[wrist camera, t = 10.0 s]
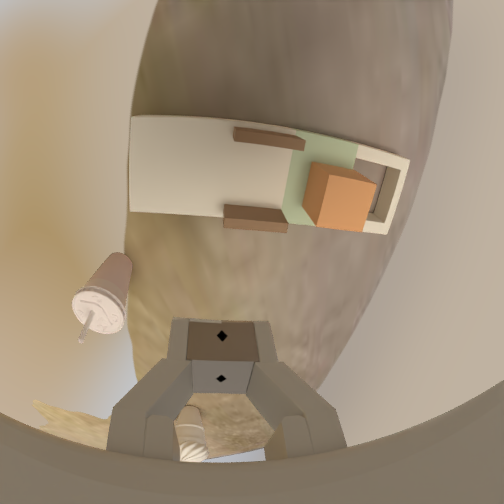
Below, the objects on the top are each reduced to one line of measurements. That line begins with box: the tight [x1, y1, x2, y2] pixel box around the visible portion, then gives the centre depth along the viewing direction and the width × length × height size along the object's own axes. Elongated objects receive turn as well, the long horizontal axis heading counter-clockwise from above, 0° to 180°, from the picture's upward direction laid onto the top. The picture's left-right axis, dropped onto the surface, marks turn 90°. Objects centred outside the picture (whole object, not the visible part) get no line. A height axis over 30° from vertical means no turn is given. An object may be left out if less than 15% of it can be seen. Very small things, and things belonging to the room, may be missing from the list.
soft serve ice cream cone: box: [175, 406, 209, 462], centre depth 48 cm, size 8×8×16 cm
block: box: [302, 162, 377, 232], centre depth 26 cm, size 5×5×5 cm
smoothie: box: [72, 252, 133, 343], centre depth 28 cm, size 6×6×14 cm
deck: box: [129, 115, 410, 235], centre depth 27 cm, size 10×30×6 cm, turn 82°
